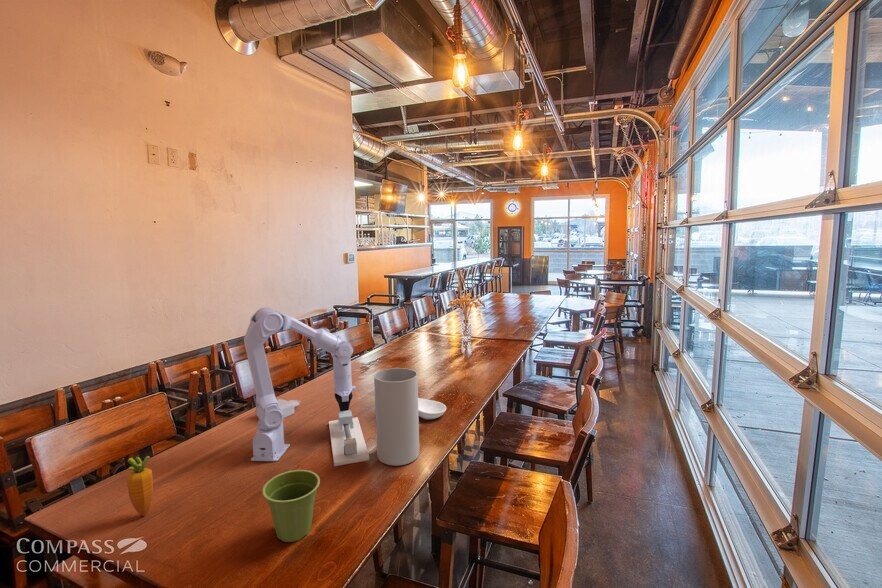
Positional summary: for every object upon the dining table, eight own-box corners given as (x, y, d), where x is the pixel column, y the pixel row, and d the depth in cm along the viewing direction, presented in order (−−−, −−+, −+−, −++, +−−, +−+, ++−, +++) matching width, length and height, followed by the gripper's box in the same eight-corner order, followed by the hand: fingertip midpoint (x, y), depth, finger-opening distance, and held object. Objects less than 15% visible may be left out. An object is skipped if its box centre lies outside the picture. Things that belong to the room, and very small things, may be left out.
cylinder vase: (373, 449, 128) (370, 371, 124) (412, 442, 132) (410, 366, 129) (382, 470, 116) (379, 384, 113) (425, 461, 120) (423, 378, 117)
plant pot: (274, 560, 84) (270, 508, 83) (260, 528, 94) (256, 481, 92) (330, 535, 91) (327, 487, 90) (312, 507, 101) (309, 463, 99)
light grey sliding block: (353, 428, 135) (352, 415, 134) (339, 430, 134) (338, 417, 133) (351, 421, 140) (351, 409, 139) (338, 423, 138) (337, 411, 138)
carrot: (161, 508, 101) (155, 450, 99) (148, 522, 96) (140, 461, 94) (140, 509, 101) (133, 451, 99) (126, 523, 96) (118, 462, 94)
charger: (307, 409, 160) (273, 424, 147) (291, 404, 165) (257, 418, 152) (306, 397, 159) (272, 411, 147) (290, 393, 164) (256, 406, 151)
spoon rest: (448, 410, 156) (448, 392, 155) (443, 424, 145) (443, 404, 144) (388, 407, 160) (387, 389, 159) (378, 420, 149) (377, 401, 148)
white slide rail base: (369, 460, 122) (368, 442, 121) (334, 466, 119) (333, 447, 118) (357, 419, 149) (357, 404, 148) (328, 424, 146) (328, 408, 145)
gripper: (357, 380, 132) (359, 421, 134) (352, 367, 146) (354, 404, 148) (334, 383, 130) (336, 424, 132) (331, 369, 144) (333, 407, 146)
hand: (344, 414), depth 140 cm, fingers closed
